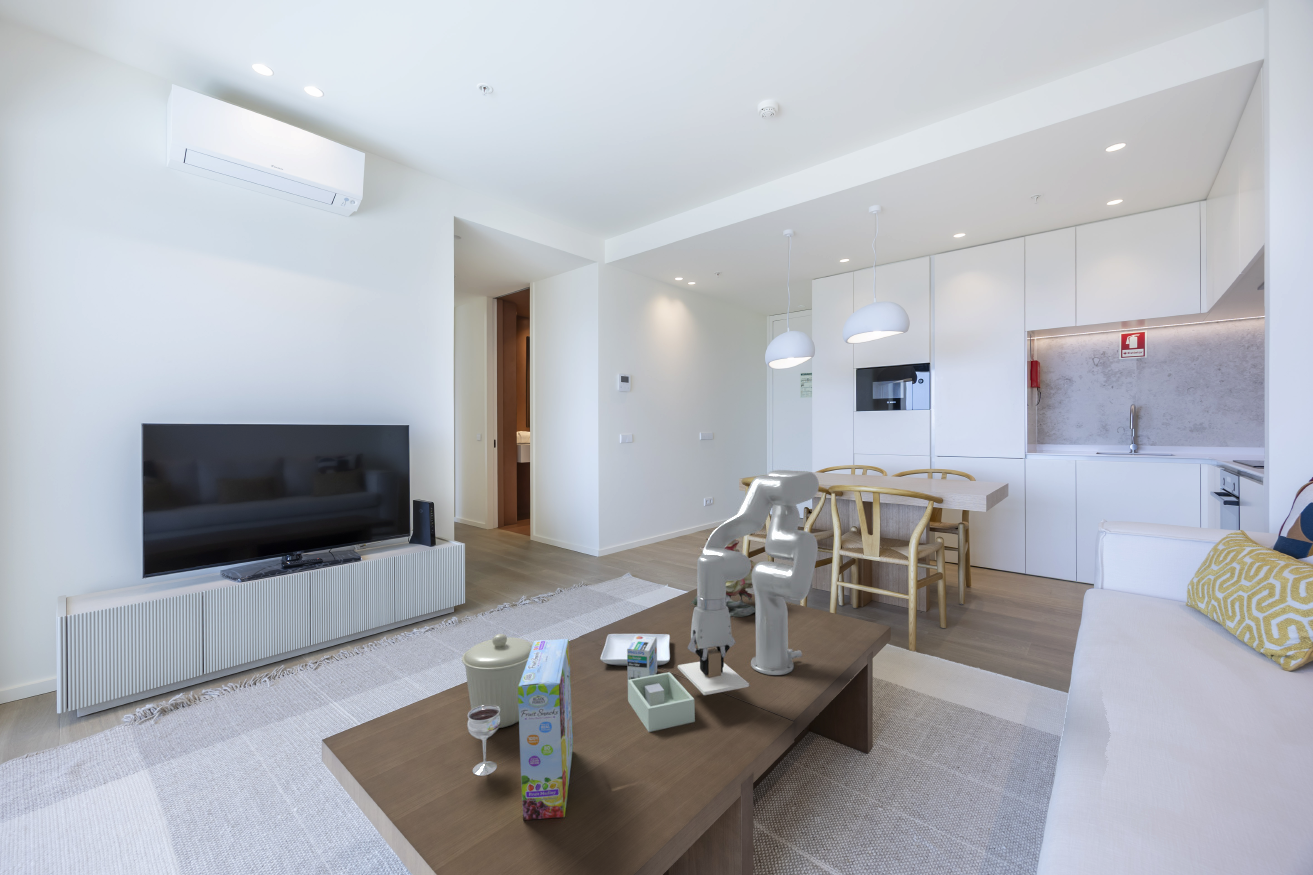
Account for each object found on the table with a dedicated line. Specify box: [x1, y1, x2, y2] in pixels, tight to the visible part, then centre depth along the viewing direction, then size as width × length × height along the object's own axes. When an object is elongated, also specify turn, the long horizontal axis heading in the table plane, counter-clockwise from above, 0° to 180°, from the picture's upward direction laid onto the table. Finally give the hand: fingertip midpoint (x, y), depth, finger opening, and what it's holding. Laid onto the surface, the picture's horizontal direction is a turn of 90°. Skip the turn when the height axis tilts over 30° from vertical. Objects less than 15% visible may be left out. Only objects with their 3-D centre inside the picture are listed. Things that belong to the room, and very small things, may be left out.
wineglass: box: [466, 705, 501, 777], centre depth 115 cm, size 7×7×12 cm
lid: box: [677, 647, 750, 696], centre depth 142 cm, size 17×13×7 cm
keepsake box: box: [627, 672, 696, 733], centre depth 137 cm, size 16×12×6 cm
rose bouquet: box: [690, 538, 757, 618], centre depth 217 cm, size 26×29×30 cm
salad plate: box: [599, 633, 671, 666], centre depth 173 cm, size 21×21×3 cm
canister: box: [461, 633, 533, 729], centre depth 136 cm, size 18×18×21 cm
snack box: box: [518, 638, 574, 821], centre depth 110 cm, size 22×9×26 cm, turn 5°
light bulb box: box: [626, 636, 658, 681], centre depth 156 cm, size 11×7×11 cm, turn 168°
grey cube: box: [645, 683, 664, 706], centre depth 141 cm, size 4×4×4 cm
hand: (711, 671), depth 142 cm, fingers closed on lid, 3 cm apart
